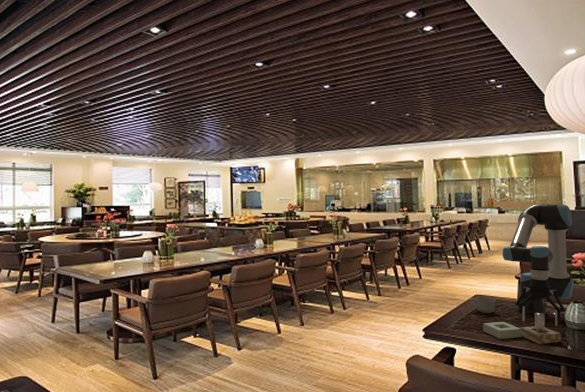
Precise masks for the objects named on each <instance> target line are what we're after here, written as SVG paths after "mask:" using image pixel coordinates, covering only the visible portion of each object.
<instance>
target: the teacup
mask: <svg viewBox="0 0 585 392" xmlns="http://www.w3.org/2000/svg"><path fill="white" fill-rule="evenodd" d="M472 301H474V302H475V304H474V303H473V302H472ZM469 303H470V305H471V306H473V307H474V308H475V309H477V310H478V311H479V312H480V313H482V314H492V313H493V312H495V310H496V299H494V297H493V298H492V297H489V296H476V297H475V298H474V297H471V298H470V300H469Z"/></svg>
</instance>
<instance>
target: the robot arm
mask: <svg viewBox="0 0 585 392" xmlns="http://www.w3.org/2000/svg"><path fill="white" fill-rule="evenodd" d="M572 219H573V216H572V212H571V209H570V207H569V206H568V205H566V204H533V205H531V206H528V207H527V208H525V209H524V210H523V211H522V212H521V213H520V214H519V216H518V218H517V223H518V224H517V227H516V230H515V232H514V234H513V237H512V240H511V242H510V244H509V245H508V246H507V245H505V246H504V247H503V249H502V258H503V260H504V261H508V262H509V261H510V262H515V263H516V262H518V263H519V262H520V263H529V264H530V272H524V273H521V274H520V276H519V277H520V278H519V279H520V280H519V282H520V283H519V284H520V285H519V286H520V287H519V288H520V291H519V293H520V295H519V297H518V298H517V300H516V302H515V305H516V309H517V312H519V314H522V322H525V320H526V319H525V318H526V317H525V315H532V316H533V315H534V316H535V313H543V314H544V315H546V314H547V309H546V305H545V304H544V303H545V301H544V302H543V298H545V300H547V302H548V303H550V304H551V306H552V307H553V308H554V309H555V310H554V316H555V317H554V318H555V319H554V320H555V321H554V323H555V324H554V325H555V326H558V319H560V318H561V313H562V312H564V311H565V307H564V305H563V302H562V301H561V300H560V299H566V300H568V299H571V297H572V294H573V288H574V278H571V275H570V274H569V272H568V267H567V264H568V262H567V238H566V237H567V235H566V234H567V233H566V232H567V231H568V230H569V229H570V226H572V225H573V220H572ZM539 225H541V226H544V229H545V230H546V232H547V244H548V246H541V245H534V246H533V245H532V246H531V247H527V246H528V243H529V241H530V238H531V235H532V232H533V229H534V228H535V227H536V226H539ZM552 298H554V299H555V301H556V302H557V304H558V305H557V304H556V303H555V302H554V301H553V300H552Z"/></svg>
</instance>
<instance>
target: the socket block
mask: <svg viewBox="0 0 585 392" xmlns="http://www.w3.org/2000/svg"><path fill="white" fill-rule="evenodd" d="M482 324H483V328H482V330H483V332H484V333H485V334H489V335H491V336H493V337H495V338H497V339H499V340H505V339H513V338H522V336H521V329H520V327H518V326H515V325H513V324H511V323H508V322H505V321H498V322H497V321H495V322H487V323H486V322H485V323H484V322H483V323H482Z"/></svg>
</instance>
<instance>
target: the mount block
mask: <svg viewBox="0 0 585 392" xmlns="http://www.w3.org/2000/svg"><path fill="white" fill-rule="evenodd" d="M519 328H520V329H521V338H525V339H527V340H530V341H532V342H534V343H536V344H538V345H542V344H551V343H561V338H562V337H561V333H560V332H559V331H558V332H557V331H556V330H552V329H550V328H548V327H545V332H543V333H539V332H536V331H535V325H534V326H523V327H521V326H520V327H519Z"/></svg>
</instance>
